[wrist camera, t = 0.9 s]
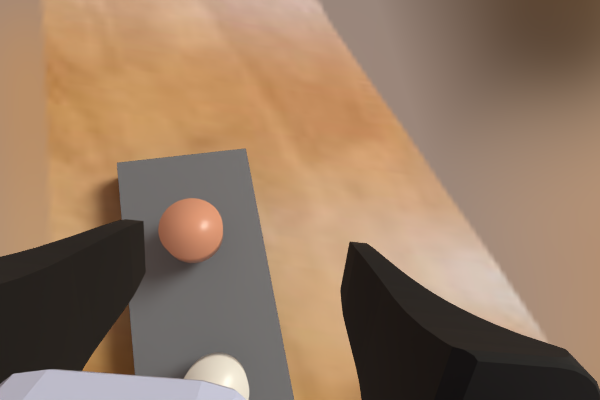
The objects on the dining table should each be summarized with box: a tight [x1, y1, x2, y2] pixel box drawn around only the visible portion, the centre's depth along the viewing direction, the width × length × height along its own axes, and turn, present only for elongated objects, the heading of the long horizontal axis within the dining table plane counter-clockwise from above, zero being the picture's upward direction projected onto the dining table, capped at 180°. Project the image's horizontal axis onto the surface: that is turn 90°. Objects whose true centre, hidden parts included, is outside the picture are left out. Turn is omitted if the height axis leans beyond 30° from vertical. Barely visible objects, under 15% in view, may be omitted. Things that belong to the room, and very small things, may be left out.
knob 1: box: [158, 198, 223, 263], centre depth 24 cm, size 4×4×5 cm
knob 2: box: [184, 352, 249, 400], centre depth 22 cm, size 4×4×5 cm
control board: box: [117, 149, 294, 400], centre depth 26 cm, size 24×10×2 cm, turn 13°
